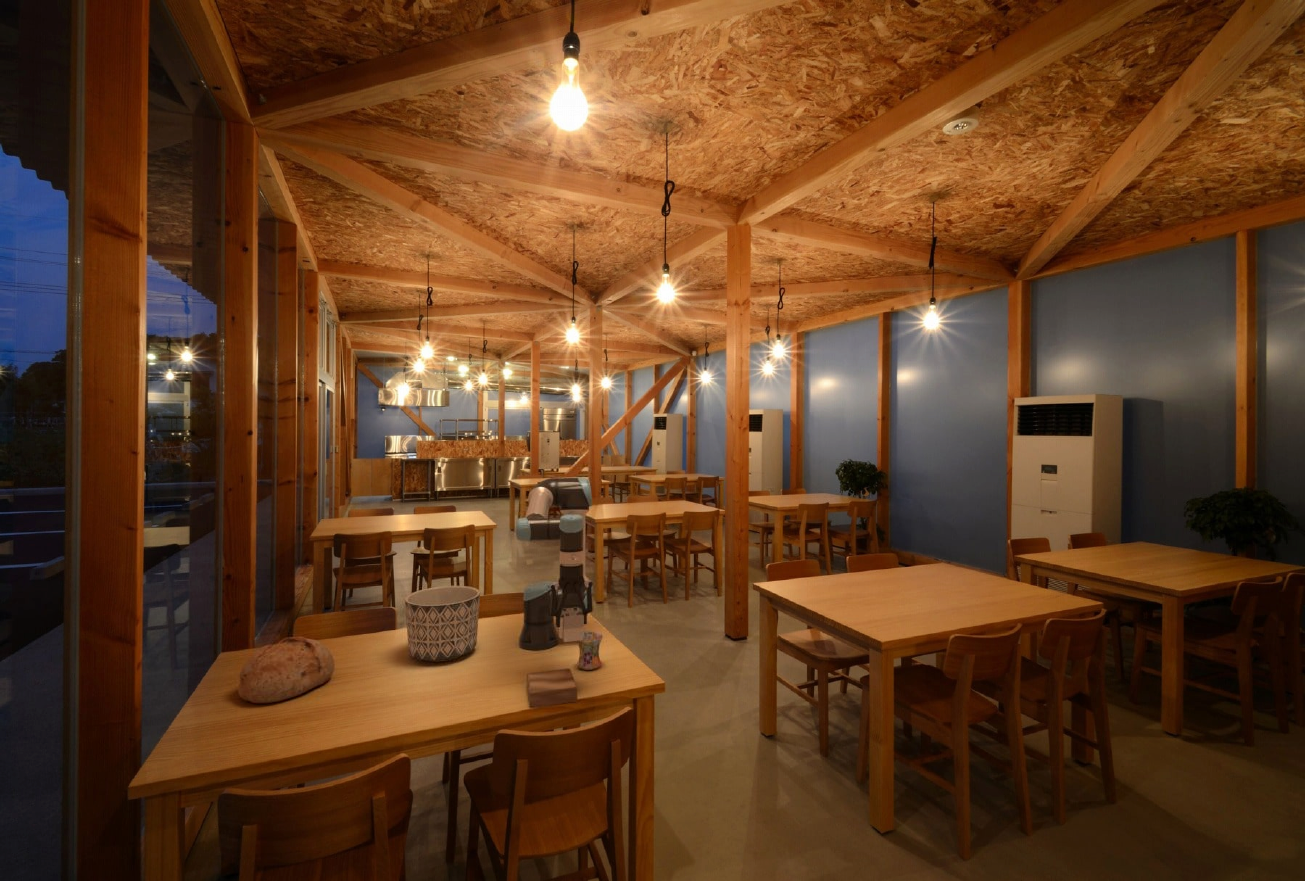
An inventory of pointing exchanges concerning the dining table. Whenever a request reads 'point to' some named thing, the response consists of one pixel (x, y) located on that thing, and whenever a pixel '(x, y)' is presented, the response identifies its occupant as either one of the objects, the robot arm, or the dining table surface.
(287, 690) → the bread
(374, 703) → the dining table surface
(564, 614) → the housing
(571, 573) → the robot arm
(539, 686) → the stand
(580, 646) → the mug
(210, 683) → the dining table surface
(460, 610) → the planter
